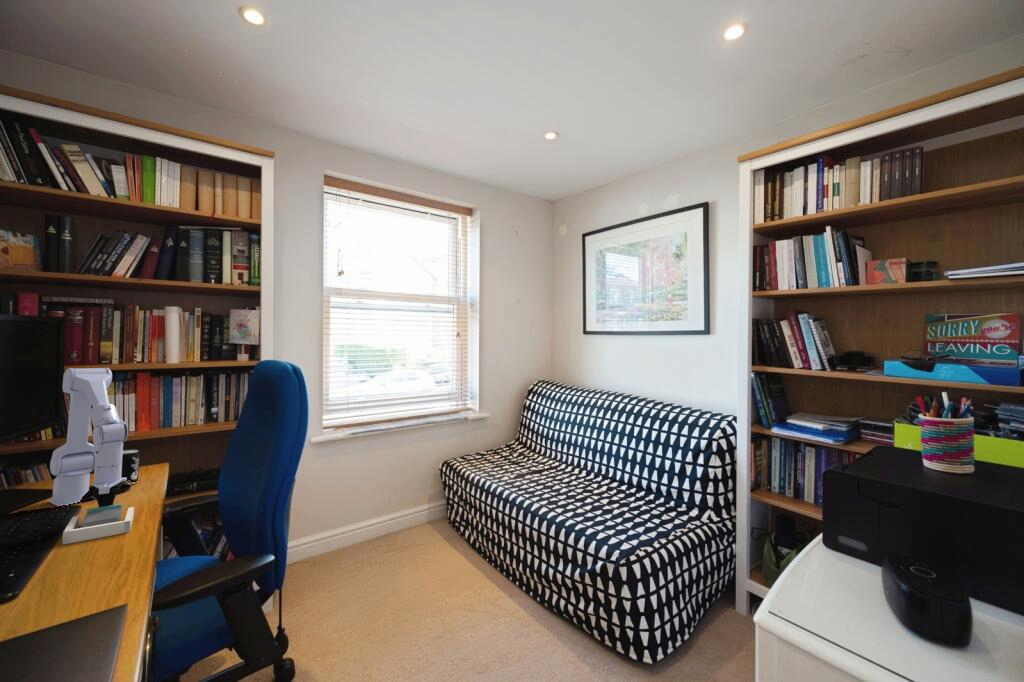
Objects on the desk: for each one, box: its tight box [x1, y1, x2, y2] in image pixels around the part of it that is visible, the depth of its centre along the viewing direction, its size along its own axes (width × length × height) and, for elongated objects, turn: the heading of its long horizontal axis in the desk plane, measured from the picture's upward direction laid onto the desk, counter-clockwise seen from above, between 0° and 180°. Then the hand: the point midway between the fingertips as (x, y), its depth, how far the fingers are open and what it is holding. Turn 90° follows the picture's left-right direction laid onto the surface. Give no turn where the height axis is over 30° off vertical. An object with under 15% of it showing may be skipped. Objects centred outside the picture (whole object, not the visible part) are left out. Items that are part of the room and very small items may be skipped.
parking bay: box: [61, 506, 135, 546], centre depth 111 cm, size 13×12×3 cm
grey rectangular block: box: [80, 503, 123, 528], centre depth 114 cm, size 10×7×4 cm
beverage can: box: [121, 449, 140, 483], centre depth 149 cm, size 7×7×12 cm
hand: (105, 512), depth 118 cm, fingers closed
